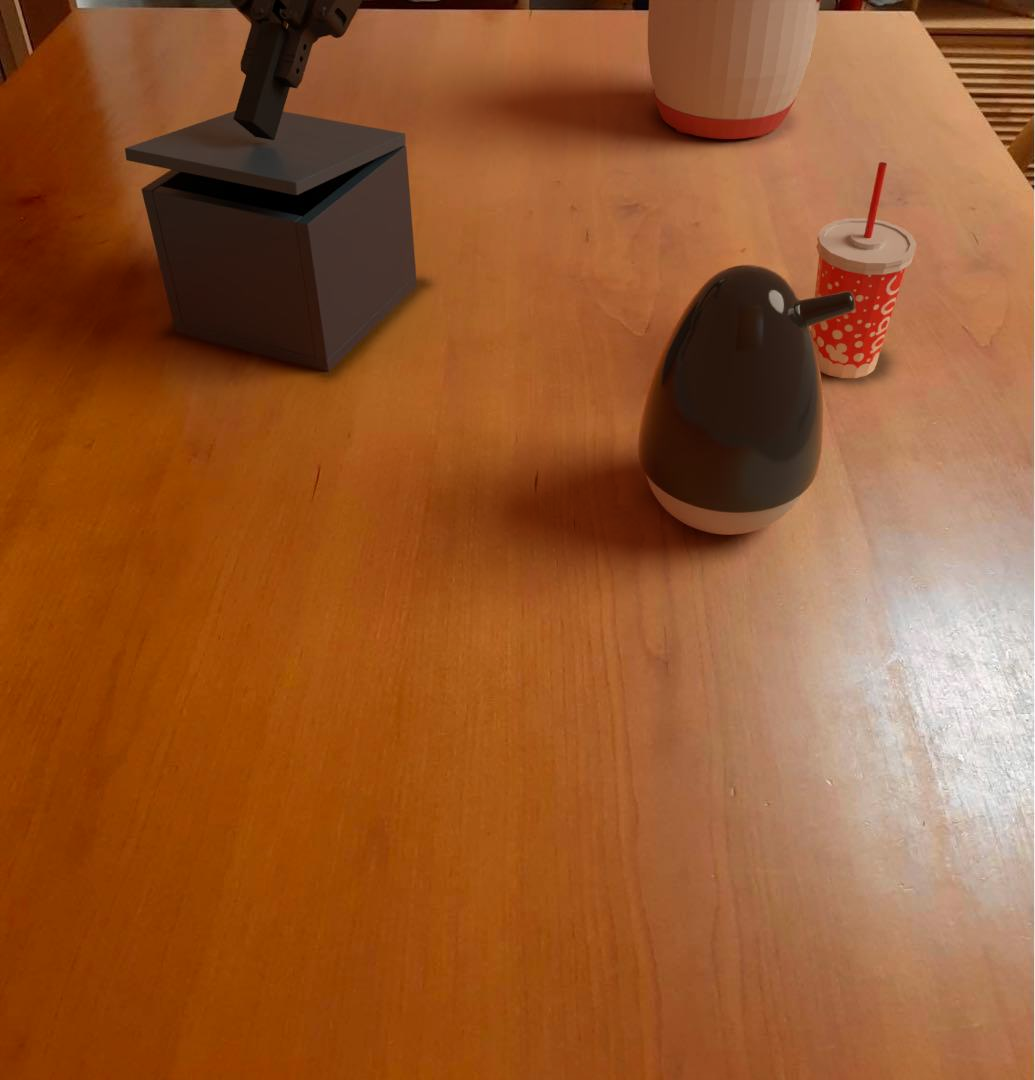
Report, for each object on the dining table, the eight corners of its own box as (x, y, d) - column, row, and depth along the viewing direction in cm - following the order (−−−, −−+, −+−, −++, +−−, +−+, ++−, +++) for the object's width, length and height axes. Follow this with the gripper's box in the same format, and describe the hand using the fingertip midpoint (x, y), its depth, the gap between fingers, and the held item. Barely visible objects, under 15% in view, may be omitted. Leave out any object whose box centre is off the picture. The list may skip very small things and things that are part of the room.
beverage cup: (840, 395, 77) (883, 195, 67) (778, 352, 81) (810, 157, 71) (907, 367, 79) (957, 169, 70) (843, 326, 83) (882, 135, 74)
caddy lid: (296, 195, 70) (295, 182, 70) (125, 160, 74) (124, 147, 74) (405, 145, 81) (405, 133, 80) (251, 116, 85) (250, 105, 84)
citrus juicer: (826, 158, 104) (869, -89, 91) (632, 147, 106) (646, -96, 93) (820, 92, 115) (858, -136, 102) (645, 83, 118) (659, -141, 104)
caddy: (328, 372, 79) (307, 224, 72) (175, 332, 83) (140, 188, 76) (417, 285, 88) (406, 145, 81) (274, 253, 92) (251, 117, 85)
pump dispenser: (813, 571, 64) (865, 333, 54) (625, 551, 66) (640, 315, 55) (811, 459, 72) (856, 231, 61) (642, 442, 73) (659, 218, 63)
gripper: (468, -175, 77) (366, 169, 76) (299, -188, 81) (203, 138, 81) (425, -260, 69) (313, 119, 69) (242, -270, 73) (136, 88, 73)
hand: (254, 129), depth 75 cm, fingers closed
